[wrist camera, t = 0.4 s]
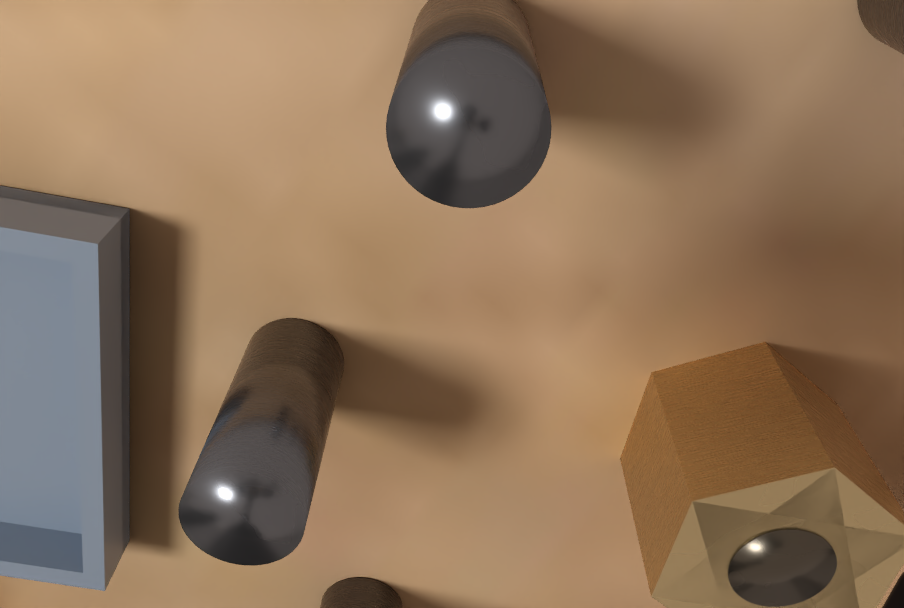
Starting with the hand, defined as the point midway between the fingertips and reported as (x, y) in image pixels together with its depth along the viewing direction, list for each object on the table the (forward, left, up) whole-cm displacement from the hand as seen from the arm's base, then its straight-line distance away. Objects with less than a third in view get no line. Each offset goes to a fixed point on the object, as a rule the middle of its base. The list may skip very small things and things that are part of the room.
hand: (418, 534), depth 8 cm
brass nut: (-8, -9, -14) cm, 18 cm away
